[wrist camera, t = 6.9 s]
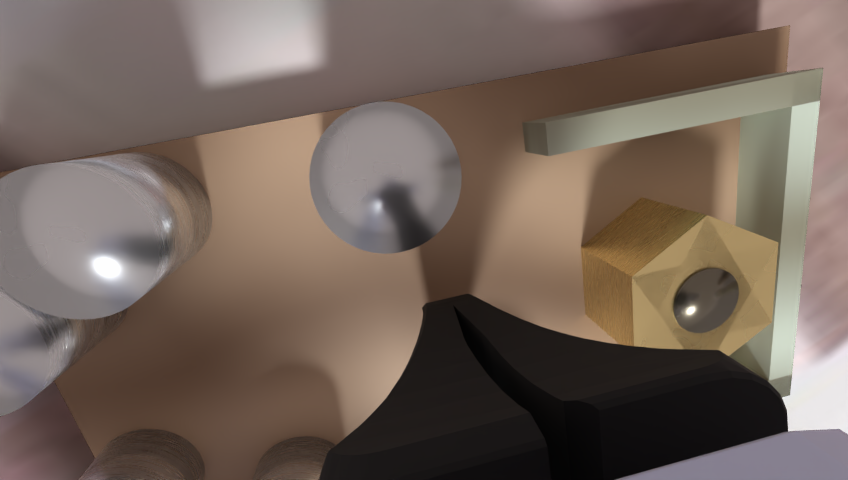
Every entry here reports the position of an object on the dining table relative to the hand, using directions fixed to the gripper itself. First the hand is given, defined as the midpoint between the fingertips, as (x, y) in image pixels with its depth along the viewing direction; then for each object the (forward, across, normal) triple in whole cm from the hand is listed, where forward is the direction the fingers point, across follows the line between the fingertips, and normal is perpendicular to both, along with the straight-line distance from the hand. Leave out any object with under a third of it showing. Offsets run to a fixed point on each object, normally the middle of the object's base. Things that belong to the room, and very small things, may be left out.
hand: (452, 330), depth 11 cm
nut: (+1, -6, 0) cm, 6 cm away
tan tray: (+2, 0, 0) cm, 2 cm away
